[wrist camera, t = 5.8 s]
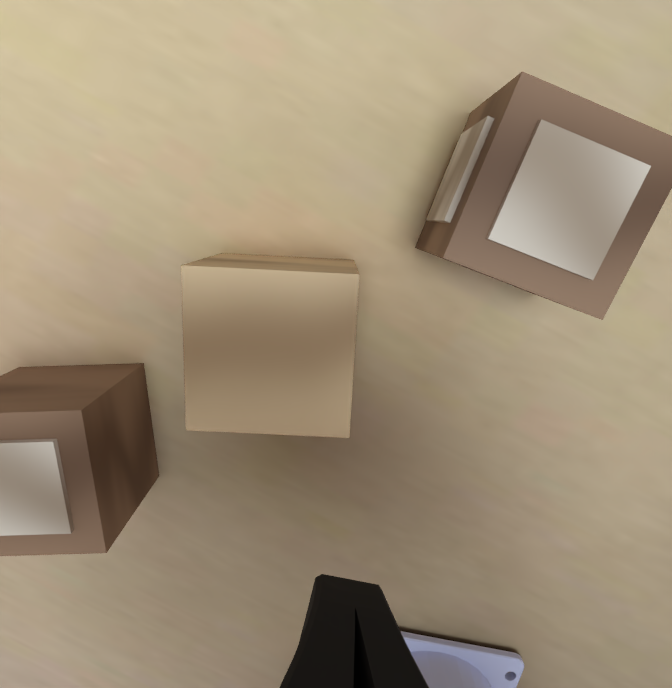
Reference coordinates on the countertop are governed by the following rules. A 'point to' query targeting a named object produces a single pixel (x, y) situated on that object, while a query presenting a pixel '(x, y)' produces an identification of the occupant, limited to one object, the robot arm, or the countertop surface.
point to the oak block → (269, 344)
